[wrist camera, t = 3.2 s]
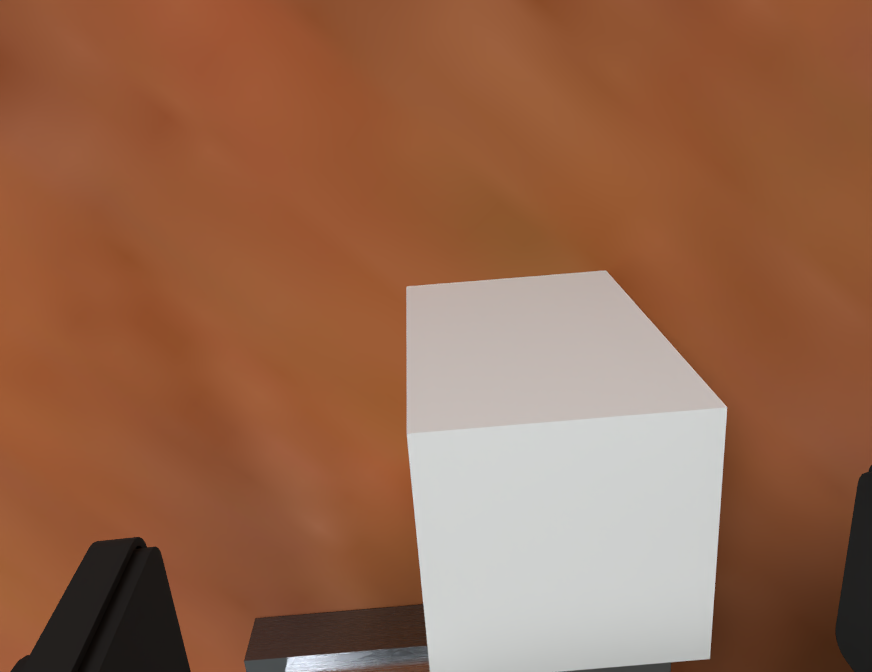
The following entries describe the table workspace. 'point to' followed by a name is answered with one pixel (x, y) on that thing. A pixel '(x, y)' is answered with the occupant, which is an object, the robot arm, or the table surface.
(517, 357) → the block
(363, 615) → the rail
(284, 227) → the table surface
